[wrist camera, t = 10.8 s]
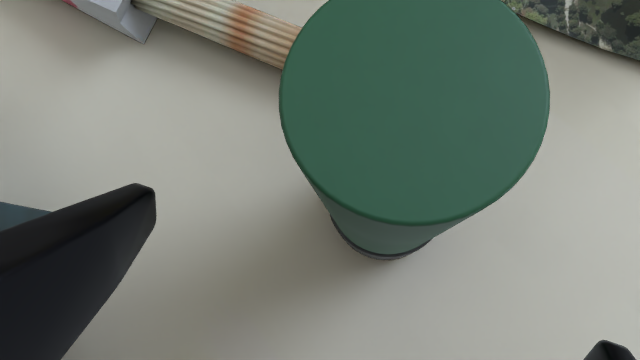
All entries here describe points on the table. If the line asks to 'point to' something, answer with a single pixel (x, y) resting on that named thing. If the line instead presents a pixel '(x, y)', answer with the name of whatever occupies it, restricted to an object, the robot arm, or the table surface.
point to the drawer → (17, 214)
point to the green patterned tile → (589, 21)
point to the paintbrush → (200, 23)
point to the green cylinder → (412, 114)
